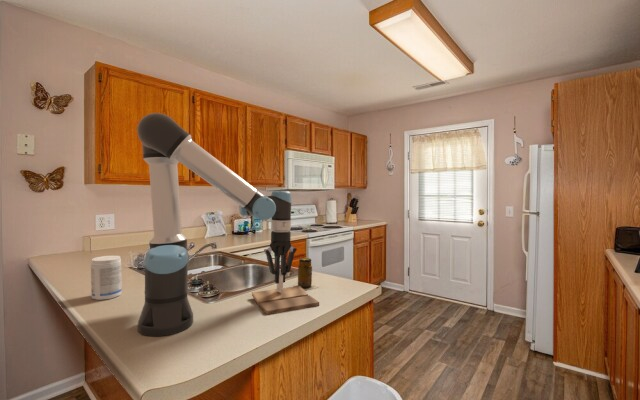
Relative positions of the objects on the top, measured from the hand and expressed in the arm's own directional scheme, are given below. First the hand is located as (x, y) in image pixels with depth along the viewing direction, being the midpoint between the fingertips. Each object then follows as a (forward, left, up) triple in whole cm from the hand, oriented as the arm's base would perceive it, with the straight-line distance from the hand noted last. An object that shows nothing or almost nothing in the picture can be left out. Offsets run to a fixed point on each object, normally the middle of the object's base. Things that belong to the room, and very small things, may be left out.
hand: (279, 291), depth 123 cm
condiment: (+15, +8, -3) cm, 17 cm away
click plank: (0, -1, -2) cm, 2 cm away
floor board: (0, -10, -2) cm, 10 cm away
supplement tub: (-59, +28, -3) cm, 65 cm away
